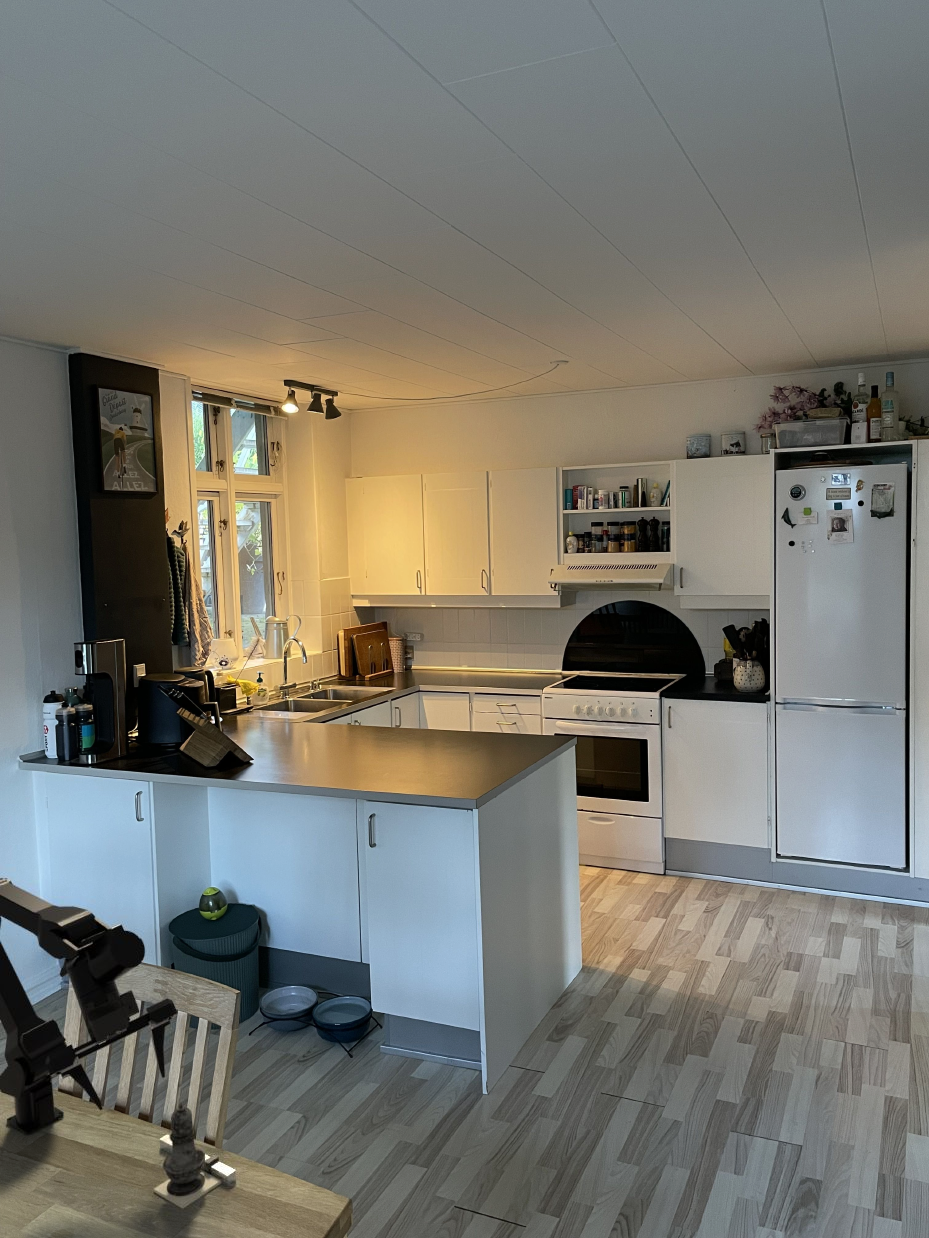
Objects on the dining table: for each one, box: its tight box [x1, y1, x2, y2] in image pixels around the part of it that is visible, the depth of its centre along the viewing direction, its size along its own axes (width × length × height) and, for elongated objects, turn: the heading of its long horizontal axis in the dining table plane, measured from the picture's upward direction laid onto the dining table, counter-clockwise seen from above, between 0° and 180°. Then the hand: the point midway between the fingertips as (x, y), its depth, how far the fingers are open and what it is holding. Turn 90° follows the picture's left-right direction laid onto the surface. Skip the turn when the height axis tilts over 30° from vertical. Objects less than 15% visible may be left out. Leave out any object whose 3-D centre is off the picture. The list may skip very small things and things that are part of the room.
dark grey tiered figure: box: [162, 1102, 207, 1196], centre depth 139 cm, size 6×6×12 cm
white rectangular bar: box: [159, 1134, 237, 1186], centre depth 145 cm, size 16×2×2 cm, turn 53°
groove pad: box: [153, 1170, 222, 1209], centre depth 139 cm, size 7×7×1 cm
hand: (133, 1093), depth 144 cm, fingers open, 9 cm apart
